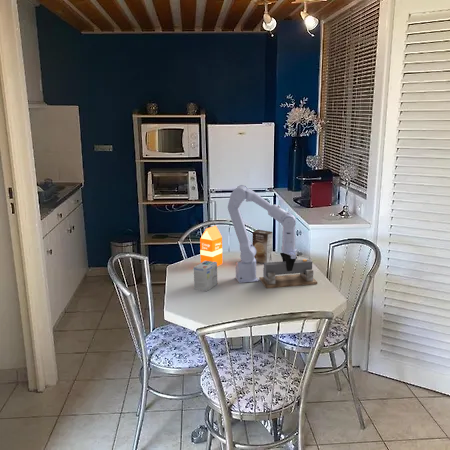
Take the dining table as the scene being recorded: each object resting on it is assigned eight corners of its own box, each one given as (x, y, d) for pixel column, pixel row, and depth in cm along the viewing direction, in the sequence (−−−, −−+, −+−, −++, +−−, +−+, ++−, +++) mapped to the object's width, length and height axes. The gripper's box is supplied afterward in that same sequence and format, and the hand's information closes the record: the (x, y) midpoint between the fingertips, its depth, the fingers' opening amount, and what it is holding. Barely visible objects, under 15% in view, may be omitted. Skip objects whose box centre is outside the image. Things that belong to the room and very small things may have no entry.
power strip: (266, 275, 214) (266, 263, 213) (263, 273, 218) (263, 261, 216) (312, 272, 218) (312, 260, 217) (309, 269, 222) (309, 258, 221)
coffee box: (251, 261, 250) (251, 231, 246) (257, 258, 255) (257, 229, 251) (267, 264, 245) (267, 234, 241) (272, 260, 250) (273, 231, 247)
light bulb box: (205, 282, 220) (204, 259, 217) (218, 284, 217) (217, 261, 214) (193, 289, 210) (193, 266, 208) (207, 292, 208) (206, 268, 205)
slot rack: (266, 288, 211) (266, 275, 210) (259, 279, 222) (259, 267, 221) (317, 284, 216) (317, 271, 214) (307, 275, 227) (308, 263, 226)
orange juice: (200, 265, 243) (199, 227, 239) (210, 261, 251) (210, 224, 246) (212, 268, 239) (212, 229, 235) (222, 263, 246) (222, 226, 242)
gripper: (302, 244, 208) (301, 273, 212) (291, 236, 222) (291, 264, 225) (287, 245, 207) (286, 275, 210) (277, 237, 221) (276, 265, 224)
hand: (288, 269), depth 218 cm, fingers closed on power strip, 3 cm apart
